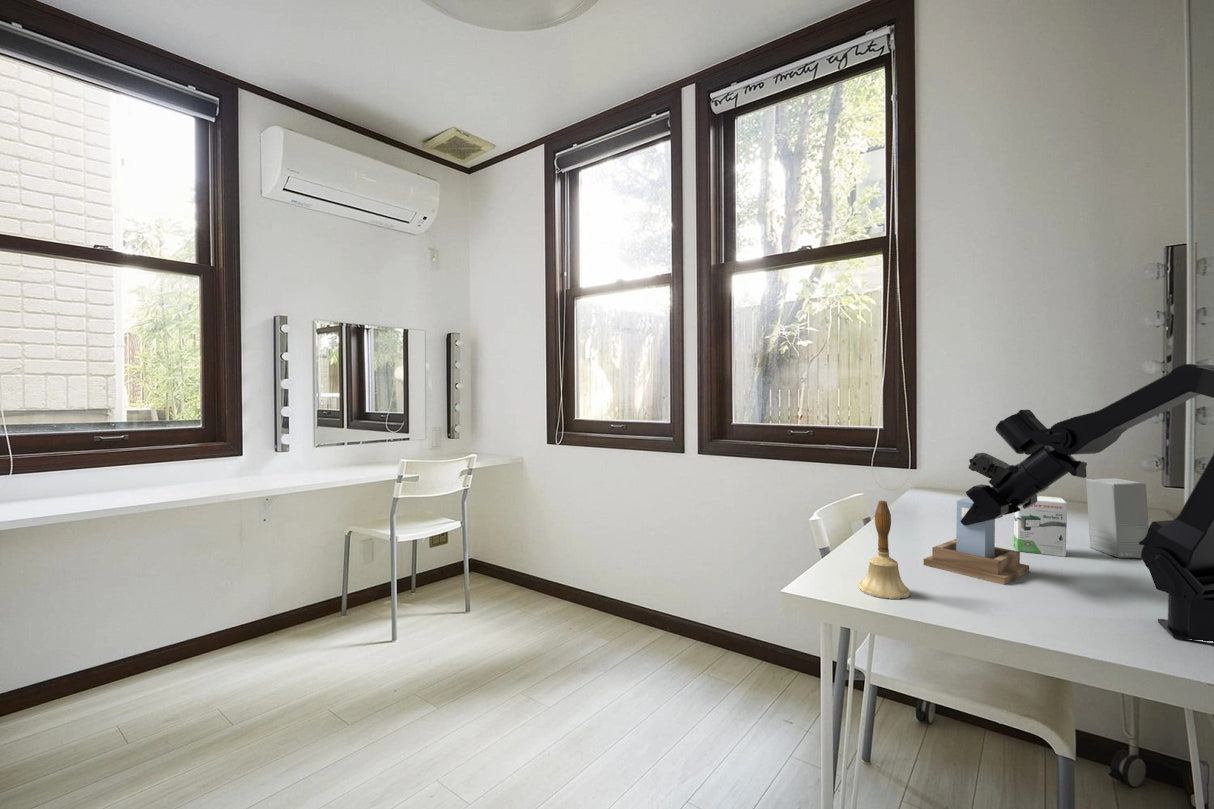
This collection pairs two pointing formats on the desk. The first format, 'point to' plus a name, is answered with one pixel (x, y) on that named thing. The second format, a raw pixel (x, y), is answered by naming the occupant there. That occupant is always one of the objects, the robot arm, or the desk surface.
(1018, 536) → the ink box
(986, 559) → the tray
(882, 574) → the hand bell
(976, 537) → the box
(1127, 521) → the skincare box
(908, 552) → the desk surface
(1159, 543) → the robot arm
